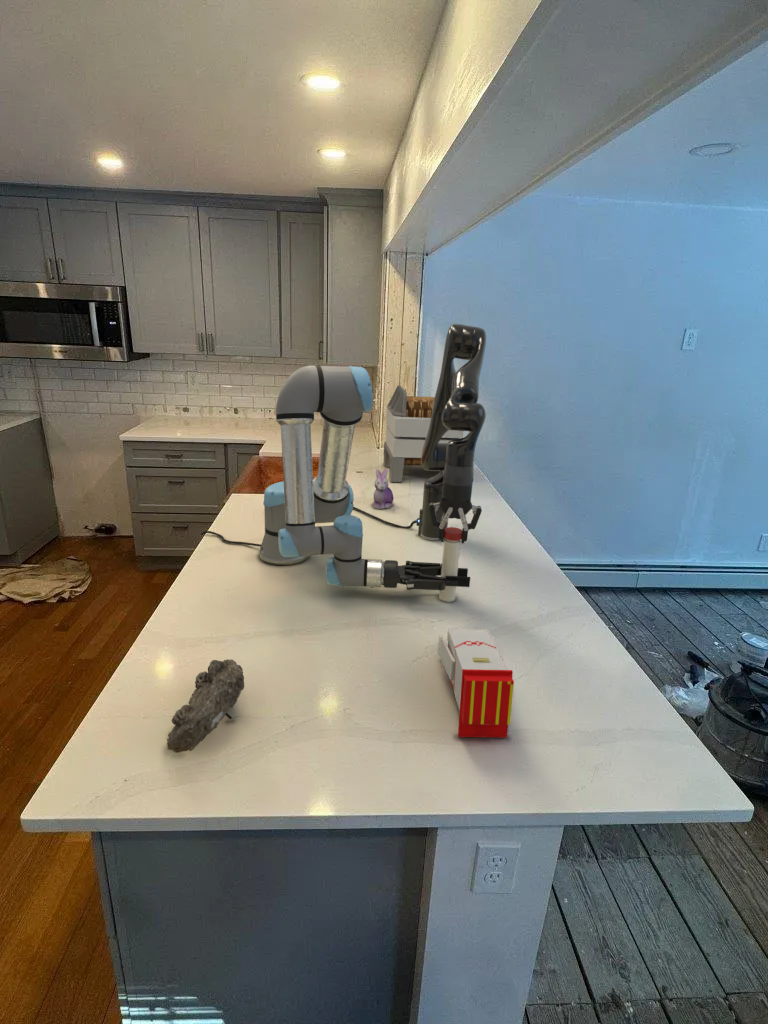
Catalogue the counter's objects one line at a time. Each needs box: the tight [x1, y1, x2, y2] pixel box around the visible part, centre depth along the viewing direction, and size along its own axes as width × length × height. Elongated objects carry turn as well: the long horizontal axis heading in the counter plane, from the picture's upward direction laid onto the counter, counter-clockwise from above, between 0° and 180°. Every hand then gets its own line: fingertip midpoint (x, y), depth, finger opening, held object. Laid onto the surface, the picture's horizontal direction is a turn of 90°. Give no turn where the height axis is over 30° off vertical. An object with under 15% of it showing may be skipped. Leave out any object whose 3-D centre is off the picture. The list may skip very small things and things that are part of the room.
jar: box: [438, 538, 462, 603], centre depth 154 cm, size 4×4×19 cm
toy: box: [437, 628, 515, 738], centre depth 117 cm, size 12×13×30 cm
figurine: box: [372, 468, 394, 510], centre depth 225 cm, size 9×10×15 cm
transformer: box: [383, 384, 465, 483], centre depth 268 cm, size 34×33×41 cm
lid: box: [444, 526, 463, 541], centre depth 151 cm, size 5×5×2 cm
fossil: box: [166, 658, 245, 754], centre depth 106 cm, size 22×10×15 cm
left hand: (468, 577), depth 155 cm, fingers closed on jar, 4 cm apart
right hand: (452, 541), depth 151 cm, fingers closed on lid, 5 cm apart
